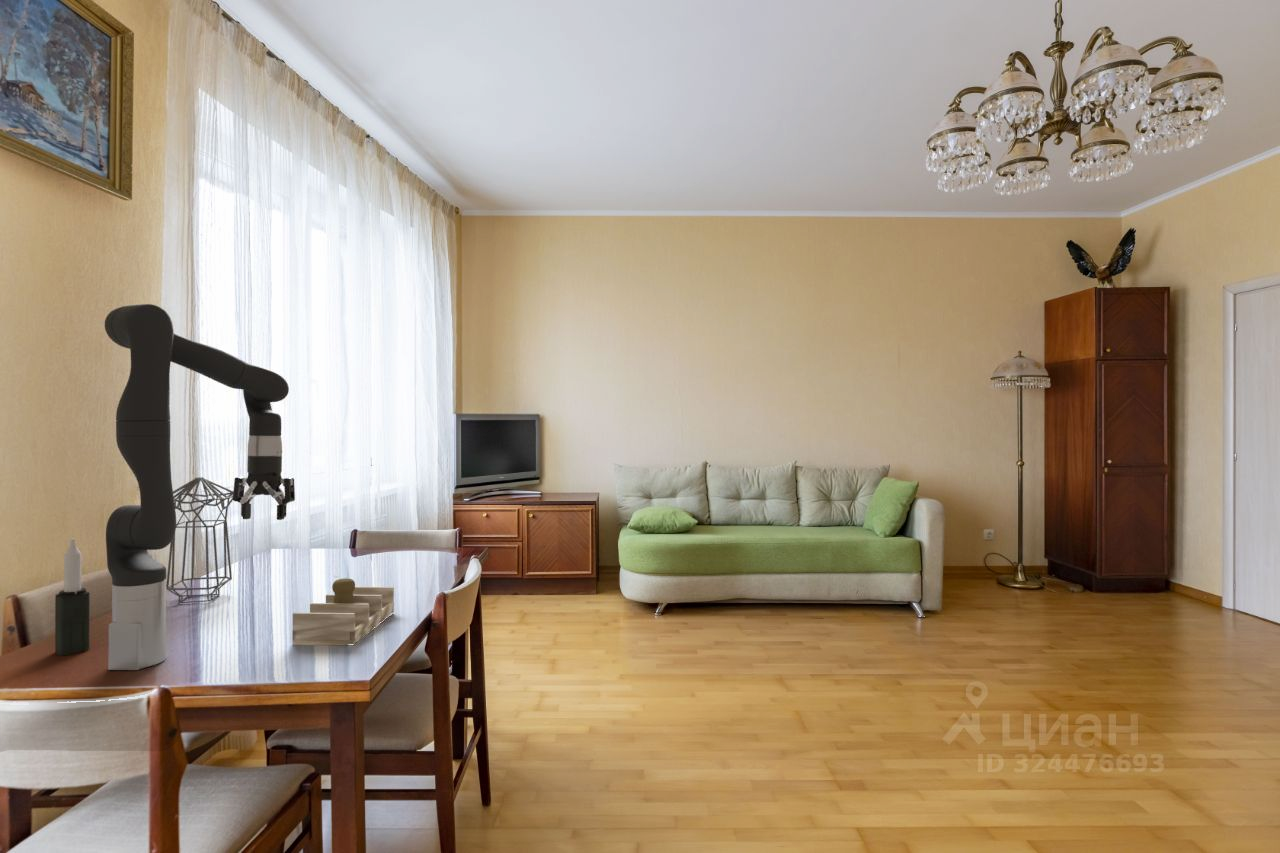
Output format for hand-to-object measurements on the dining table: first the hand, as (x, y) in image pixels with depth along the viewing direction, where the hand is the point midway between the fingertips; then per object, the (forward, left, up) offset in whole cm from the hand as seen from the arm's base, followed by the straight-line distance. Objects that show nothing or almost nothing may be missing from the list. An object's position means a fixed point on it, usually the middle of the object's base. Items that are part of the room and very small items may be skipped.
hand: (263, 519), depth 168 cm
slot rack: (-1, -21, -27) cm, 34 cm away
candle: (-19, +32, -27) cm, 46 cm away
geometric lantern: (+24, +32, -27) cm, 48 cm away
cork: (-1, -20, -26) cm, 33 cm away
